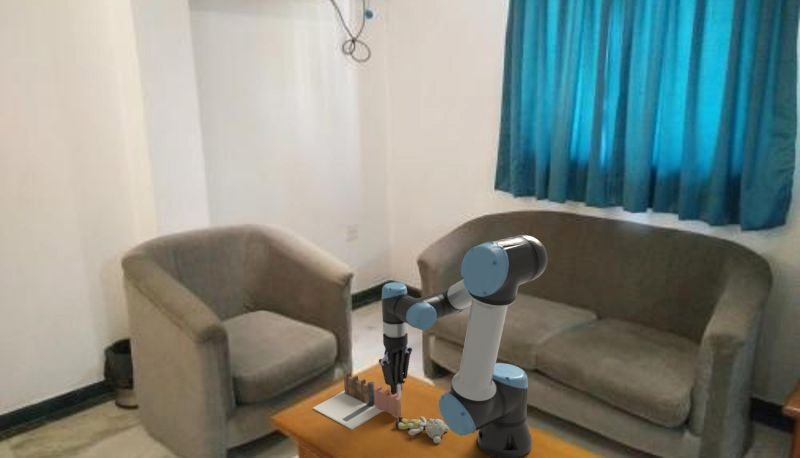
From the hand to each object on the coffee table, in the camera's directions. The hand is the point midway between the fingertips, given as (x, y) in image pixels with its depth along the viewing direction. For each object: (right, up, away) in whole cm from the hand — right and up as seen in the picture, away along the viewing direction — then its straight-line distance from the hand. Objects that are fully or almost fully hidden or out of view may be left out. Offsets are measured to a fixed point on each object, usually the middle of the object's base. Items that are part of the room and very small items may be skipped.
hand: (396, 401), depth 185 cm
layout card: (-14, -2, +2) cm, 14 cm away
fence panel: (-3, -2, -2) cm, 4 cm away
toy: (+7, -6, -11) cm, 14 cm away
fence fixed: (-12, -1, +6) cm, 14 cm away
